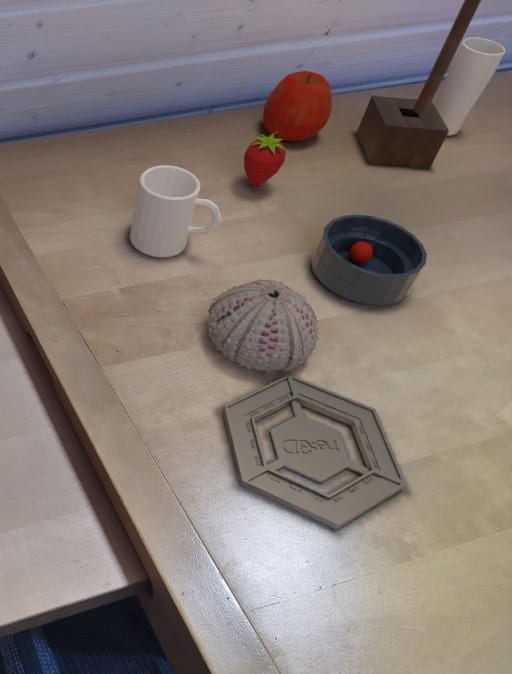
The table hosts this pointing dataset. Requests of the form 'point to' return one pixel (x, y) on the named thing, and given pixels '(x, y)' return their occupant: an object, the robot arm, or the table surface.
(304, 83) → the apple
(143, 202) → the mug
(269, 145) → the strawberry
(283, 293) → the sea urchin shell
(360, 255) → the ball
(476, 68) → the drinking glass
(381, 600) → the table surface
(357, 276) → the bowl
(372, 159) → the holder
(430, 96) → the stirring stick
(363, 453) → the grey hexagonal plate
